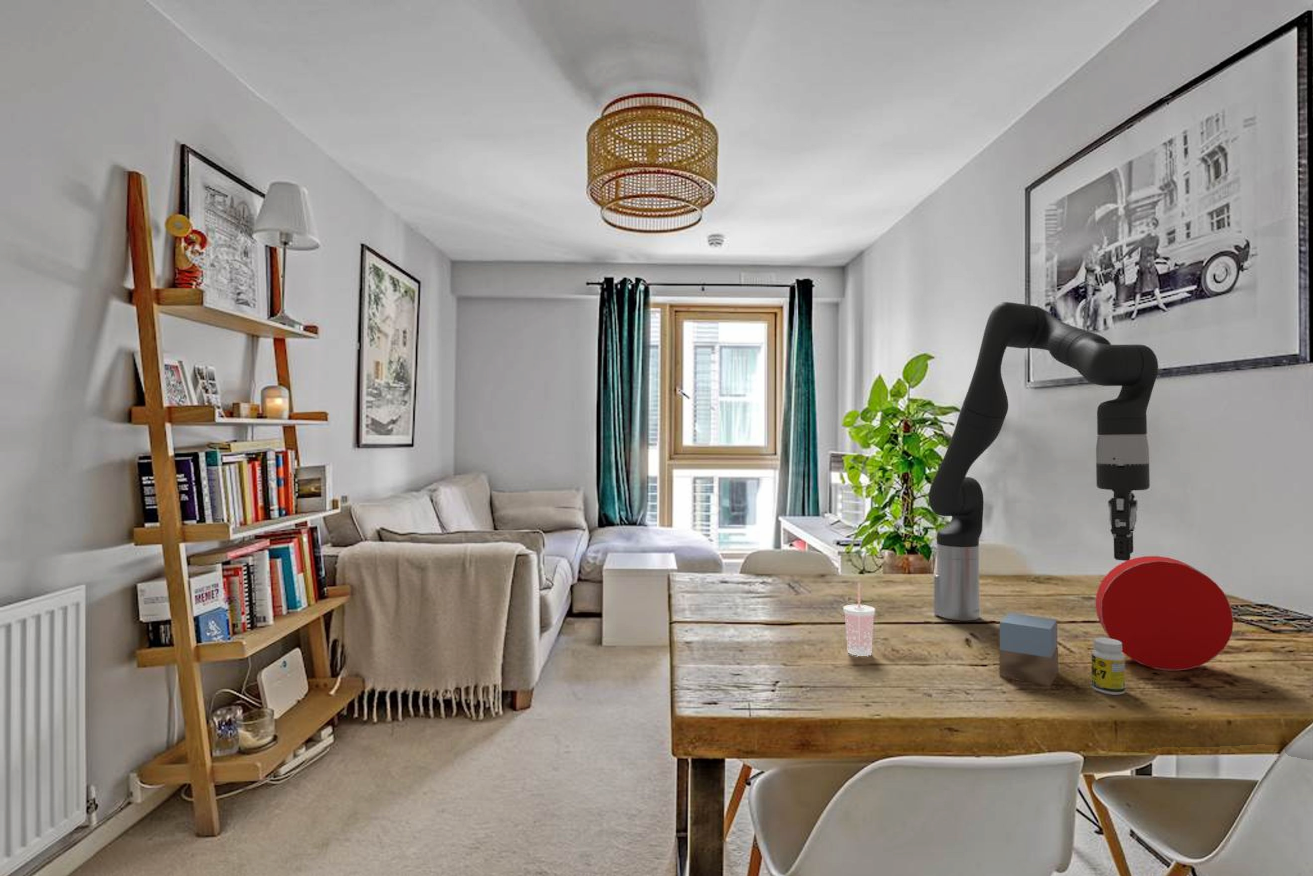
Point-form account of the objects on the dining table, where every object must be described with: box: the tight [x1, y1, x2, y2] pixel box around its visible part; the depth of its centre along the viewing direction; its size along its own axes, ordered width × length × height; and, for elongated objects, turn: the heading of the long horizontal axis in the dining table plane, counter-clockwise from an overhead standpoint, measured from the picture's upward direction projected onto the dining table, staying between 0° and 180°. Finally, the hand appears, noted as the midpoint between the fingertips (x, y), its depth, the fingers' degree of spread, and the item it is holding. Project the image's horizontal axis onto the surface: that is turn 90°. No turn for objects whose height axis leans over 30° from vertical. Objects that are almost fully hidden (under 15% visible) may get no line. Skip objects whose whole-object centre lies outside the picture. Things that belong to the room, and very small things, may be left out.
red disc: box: [1095, 555, 1234, 671], centre depth 129 cm, size 20×6×20 cm, turn 66°
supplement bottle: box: [1090, 637, 1126, 696], centre depth 117 cm, size 5×5×8 cm
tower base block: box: [998, 646, 1059, 687], centre depth 124 cm, size 8×8×5 cm
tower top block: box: [999, 612, 1058, 658], centre depth 124 cm, size 8×8×5 cm
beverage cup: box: [842, 582, 876, 657], centre depth 137 cm, size 6×6×14 cm
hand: (1123, 556), depth 117 cm, fingers open, 8 cm apart
